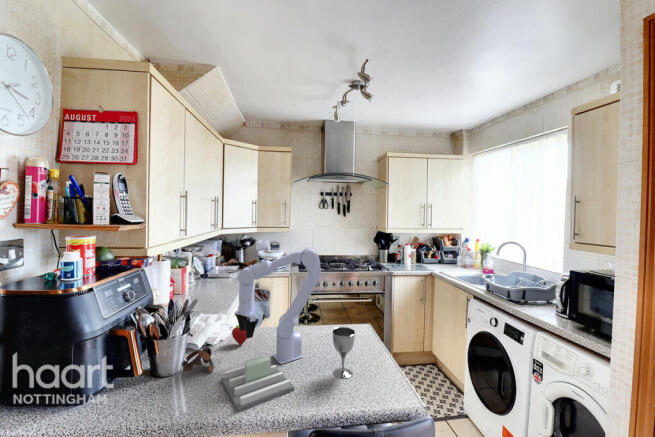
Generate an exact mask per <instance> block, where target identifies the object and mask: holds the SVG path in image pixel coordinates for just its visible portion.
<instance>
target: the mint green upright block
mask: <svg viewBox="0 0 655 437" xmlns="http://www.w3.org/2000/svg"><path fill="white" fill-rule="evenodd" d="M271 359H272V358H270V357H269V356H264V357H261V358H258V359H257V358H256V359H254V360H251V361H246V362H244V366H245V376H244V384H247V383H250V382H253V381H256V380H259V379H262V378H265V377H268V376H271V363H272V362H271V361H272V360H271Z"/></svg>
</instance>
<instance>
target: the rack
mask: <svg viewBox="0 0 655 437" xmlns="http://www.w3.org/2000/svg"><path fill="white" fill-rule="evenodd" d="M244 376H245V365H243V366H240V367H236V368H233V369H230V370H226V371H224V376H222V377H221V378H220V381H221V384H222V385H223V387H224V388H225V389H224V390H225V391H226V393H227V394H228V396H229V397H230V399H231V402H232V403H233V405H234V407H235V408H236V410H237V412H238V413H239V412H242V411H244V410H248V409H249V408H252V407H255V406H258V405H260V404H263V403H265V402H267V401H270V400H273V399H275V398H279V397H280V396H283V395H286V394H288V393H291V392H294V391H295V385H293V384H292V383H291V382H292V380H290V379H288V378H286V376H285V375H284V372H283V371H280V370H279V369H278V366H277V365H276V364H273V363H272V362H271V376H268V377H265V378H262V379H259V380H256V381H253V382H250V383H247V384H244Z"/></svg>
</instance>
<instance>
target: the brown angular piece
mask: <svg viewBox="0 0 655 437" xmlns="http://www.w3.org/2000/svg"><path fill="white" fill-rule="evenodd" d="M193 358H194V359H193ZM185 359H186V360H185ZM185 359H184V360H183V361H182V362H181V366H182V372H183V373H188V372H192V373H193V371H194V366H196V367H201V366H203V363H204V364H208V363H209V366H208V368H207V371H208V373H209V374H211V375H212V373H213V371H214V369H215V366H214V363H213V360H212V349H211V348H210V347H209V346H207V347H204V348H202V349H200V348H199V349H196V350H193V351H192V352H191V353H190V354H188V355H187V356H186V357H185ZM191 359H192V360H191ZM190 360H191V361H190ZM202 361H203V363H202Z"/></svg>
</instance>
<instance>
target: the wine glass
mask: <svg viewBox="0 0 655 437" xmlns="http://www.w3.org/2000/svg"><path fill="white" fill-rule="evenodd" d="M331 335H332V343H333V347H334V349H335V351H336V352H337V353H338V354H339V356H340V359H341V367H338V368H335V369H334V370H333V371H332V374H333V376H334V377H335V378H337V379H340V380H348V379H350V378H352V377H353V376H354V375H353V373H354V372H353V371H352V370H351V369H349V368H347V367H345V360H346V357H347V355H348V354H349V353H351V351H352V349H353V348H354V346H355V340H356V331H355V329H353V328H351V327H346V326H340V327H334V329H333V330H332V334H331Z"/></svg>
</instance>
